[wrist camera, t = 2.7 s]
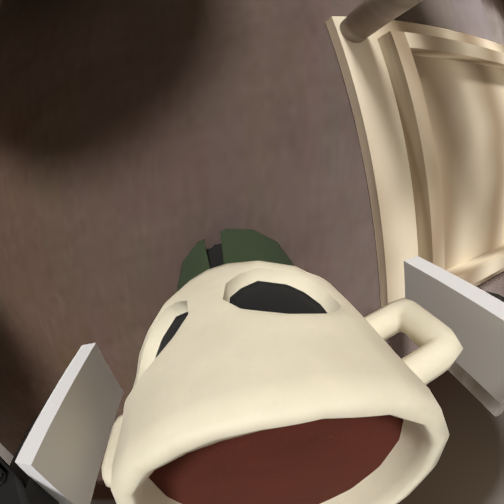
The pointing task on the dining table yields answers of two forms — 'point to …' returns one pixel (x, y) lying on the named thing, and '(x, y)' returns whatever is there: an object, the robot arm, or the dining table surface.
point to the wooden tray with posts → (427, 146)
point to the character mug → (277, 390)
